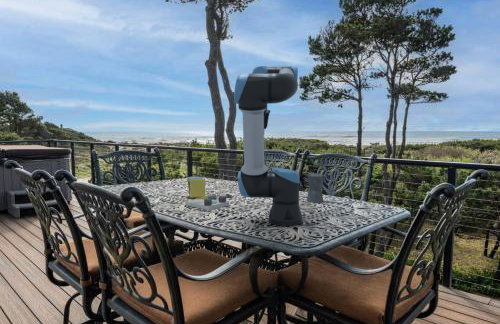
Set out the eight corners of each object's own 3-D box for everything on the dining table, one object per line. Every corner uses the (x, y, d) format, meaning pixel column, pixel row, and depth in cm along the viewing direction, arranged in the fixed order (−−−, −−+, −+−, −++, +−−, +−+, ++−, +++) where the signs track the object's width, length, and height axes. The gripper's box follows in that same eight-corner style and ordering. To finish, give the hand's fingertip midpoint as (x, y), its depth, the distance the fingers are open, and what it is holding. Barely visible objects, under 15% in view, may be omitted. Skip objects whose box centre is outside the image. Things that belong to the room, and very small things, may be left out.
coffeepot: (326, 200, 207) (327, 169, 205) (327, 203, 197) (327, 171, 196) (299, 199, 209) (300, 168, 208) (298, 202, 200) (299, 170, 199)
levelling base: (229, 205, 191) (229, 196, 190) (208, 210, 179) (208, 200, 179) (206, 201, 202) (205, 192, 202) (185, 205, 191) (185, 196, 191)
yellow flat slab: (214, 199, 195) (214, 178, 194) (217, 201, 191) (217, 179, 190) (188, 202, 189) (188, 179, 188) (191, 203, 184) (191, 180, 183)
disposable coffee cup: (206, 196, 216) (206, 177, 215) (195, 199, 208) (195, 178, 207) (194, 195, 221) (194, 176, 220) (183, 197, 213) (183, 177, 212)
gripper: (263, 97, 195) (263, 141, 197) (247, 95, 185) (247, 141, 187) (274, 96, 190) (274, 141, 192) (259, 95, 180) (258, 141, 182)
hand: (261, 141), depth 189 cm, fingers closed
